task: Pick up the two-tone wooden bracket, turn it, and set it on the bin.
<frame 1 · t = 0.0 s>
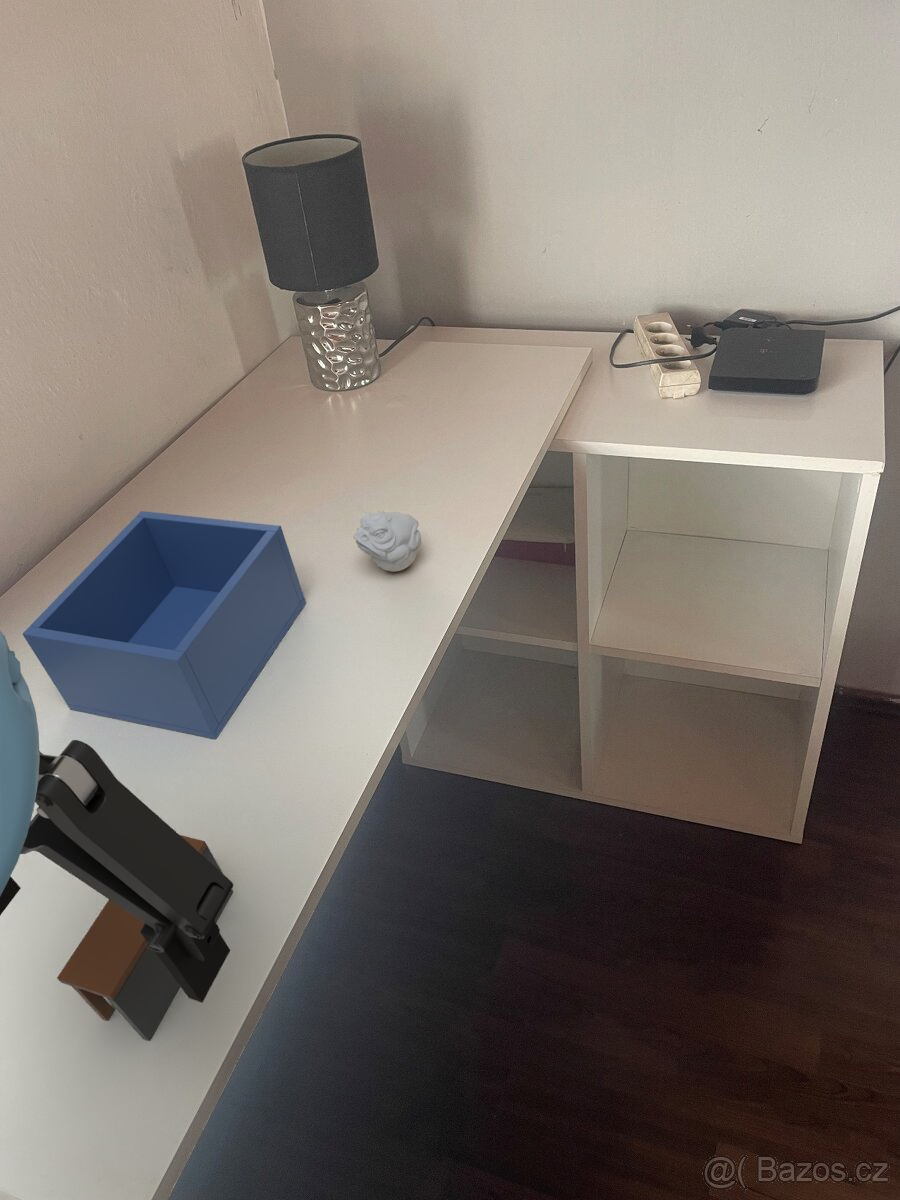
hand: (99, 940, 45), 15 cm above the table, tool pointing down, fingers open, 13 cm apart
bin: (193, 654, 84), on the table
two-tone wooden bracket: (169, 954, 60), on the table
frog figurine: (395, 568, 90), on the table
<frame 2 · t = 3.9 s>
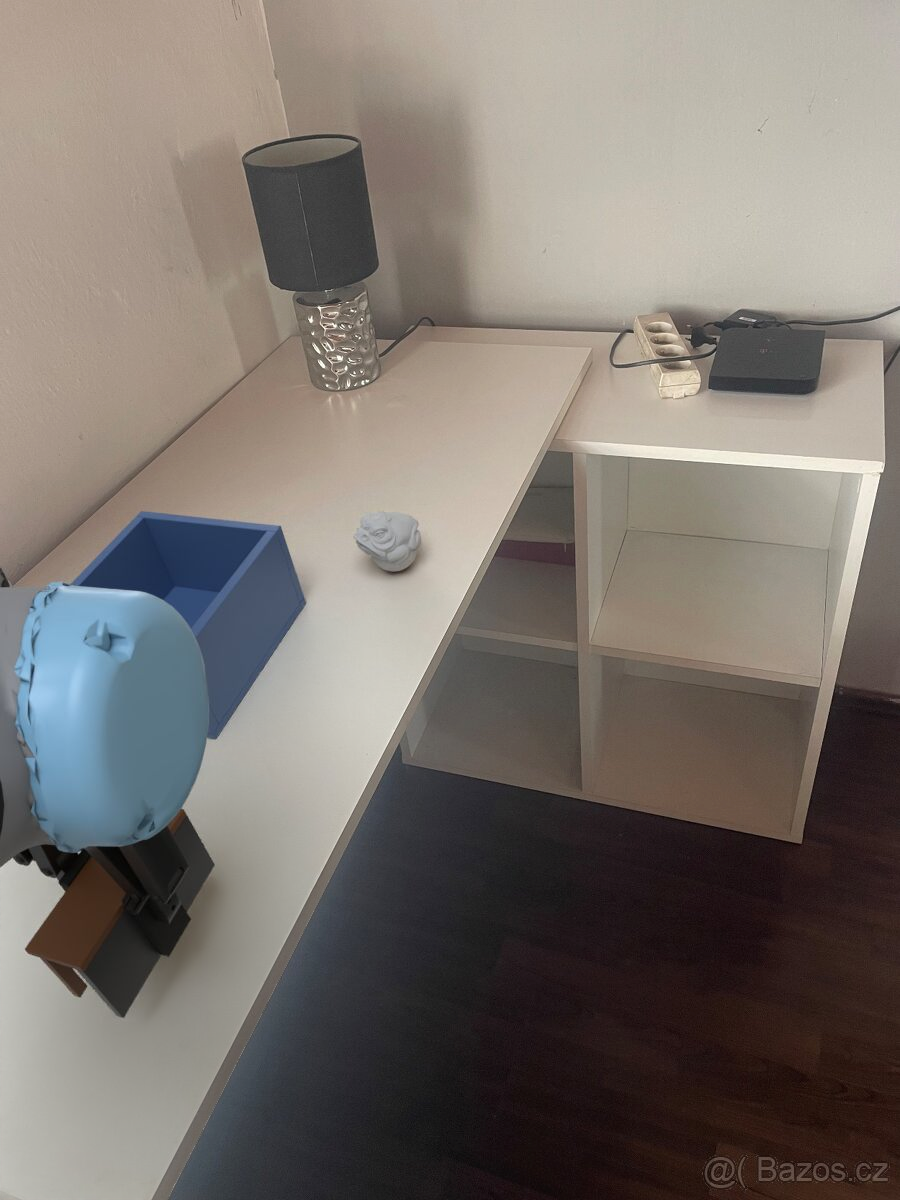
hand: (145, 927, 57), 4 cm above the table, tool pointing down, fingers closed on two-tone wooden bracket, 4 cm apart
two-tone wooden bracket: (147, 929, 58), point 4 cm above the table, touching gripper
everything else where it was.
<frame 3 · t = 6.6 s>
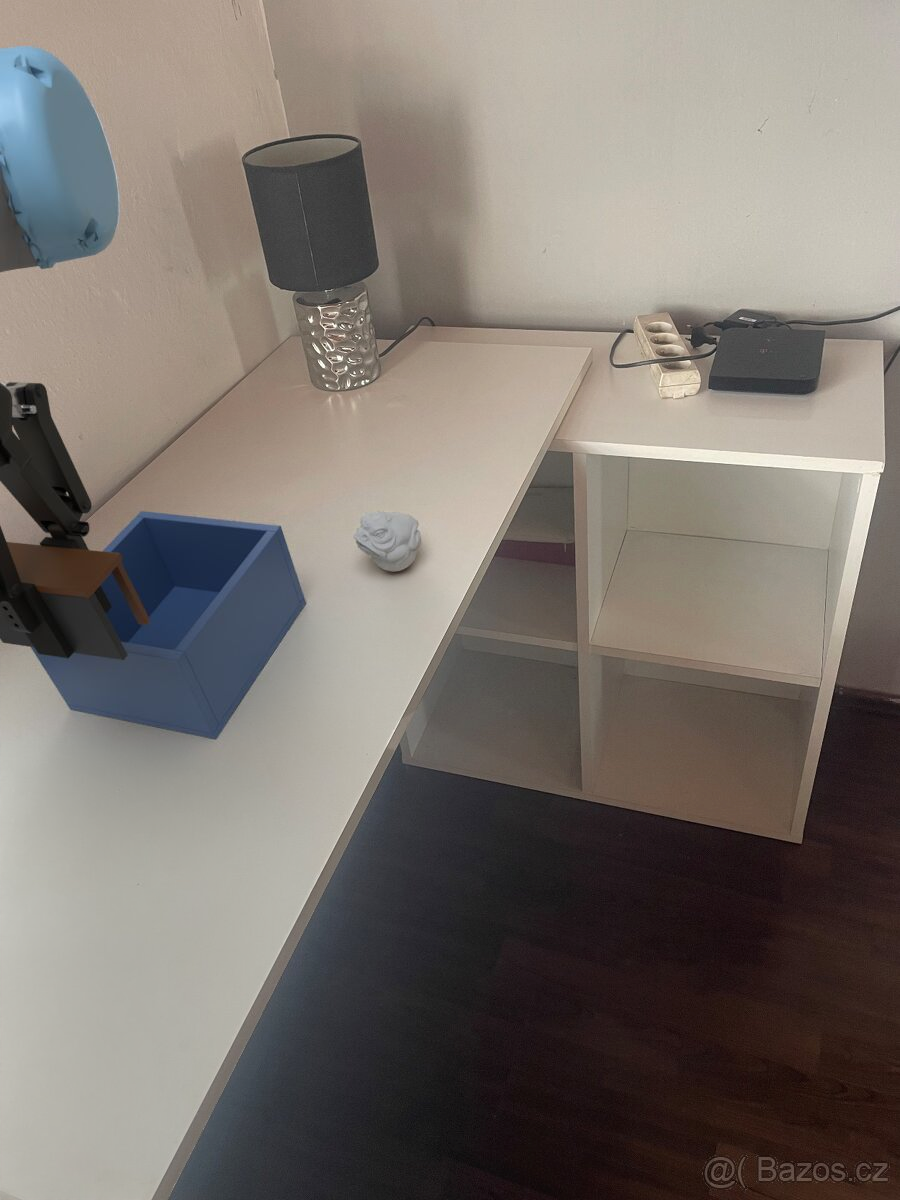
hand: (75, 629, 65), 15 cm above the table, tool pointing down, fingers closed on two-tone wooden bracket, 4 cm apart
two-tone wooden bracket: (78, 632, 65), point 15 cm above the table, touching gripper
everything else where it was.
when the fingers open (4 cm above the table, at t = 9.7 s): two-tone wooden bracket stays where it is, resting on bin.
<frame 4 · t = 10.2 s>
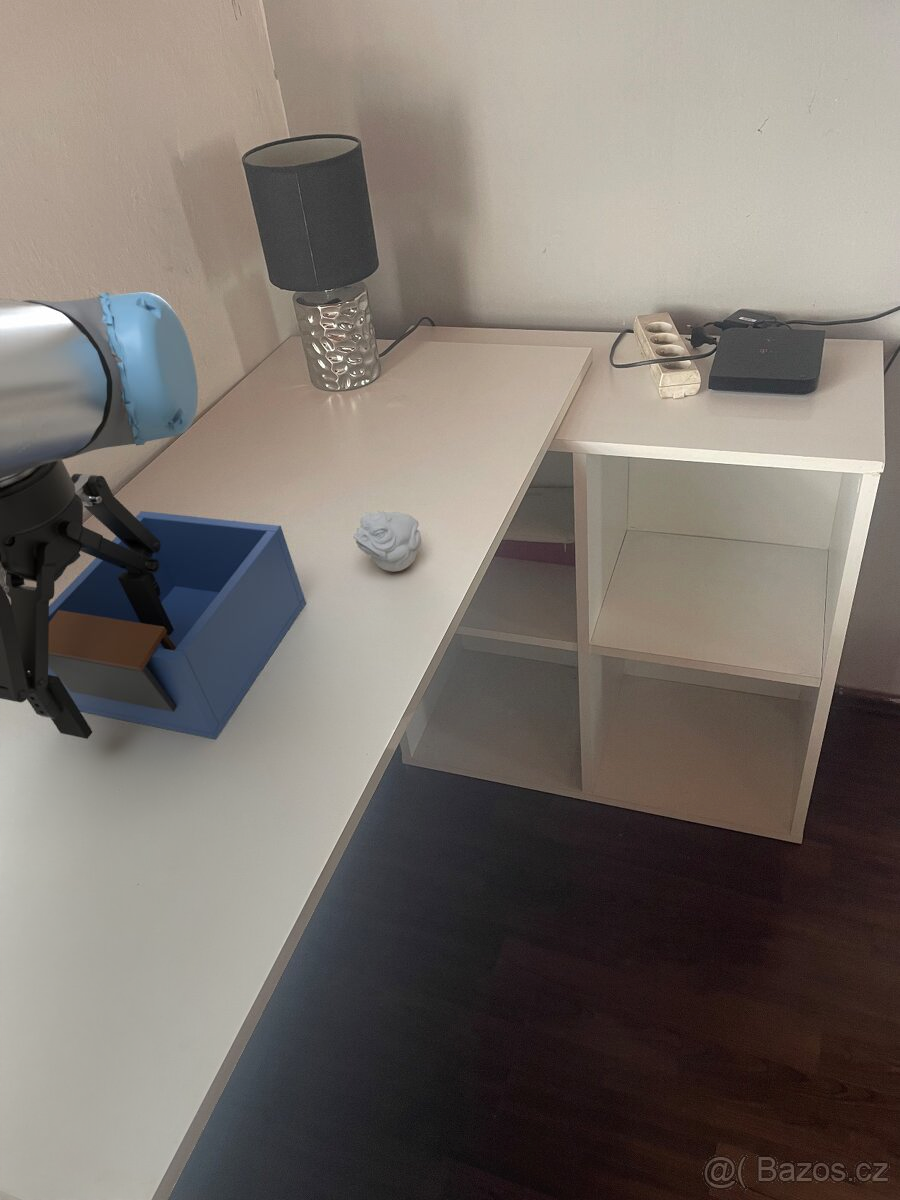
hand: (120, 679, 74), 5 cm above the table, tool pointing down, fingers open, 11 cm apart
two-tone wooden bracket: (133, 682, 76), point 4 cm above the table, tilted 9°, touching bin
everything else where it was.
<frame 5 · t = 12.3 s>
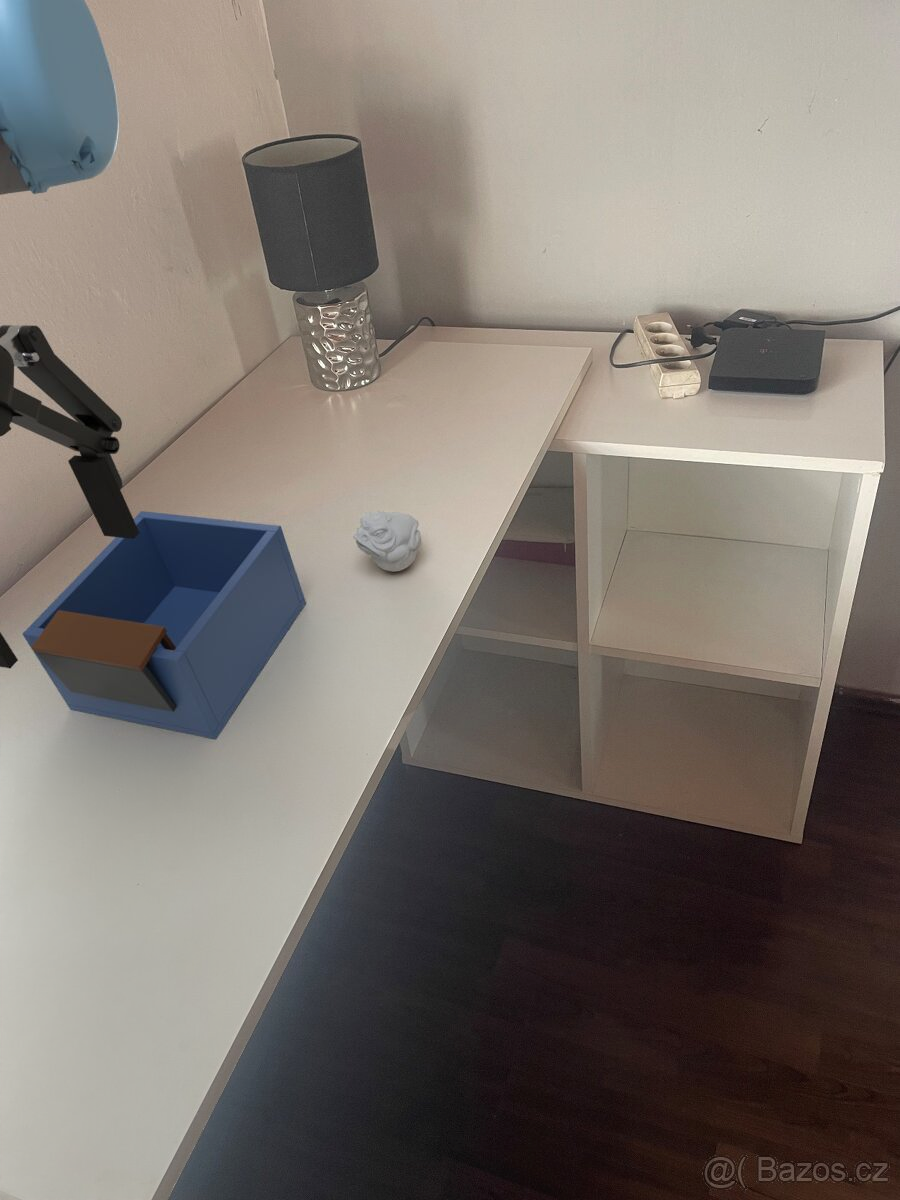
hand: (65, 593, 60), 20 cm above the table, tool pointing down, fingers open, 13 cm apart
nothing on the table moved.
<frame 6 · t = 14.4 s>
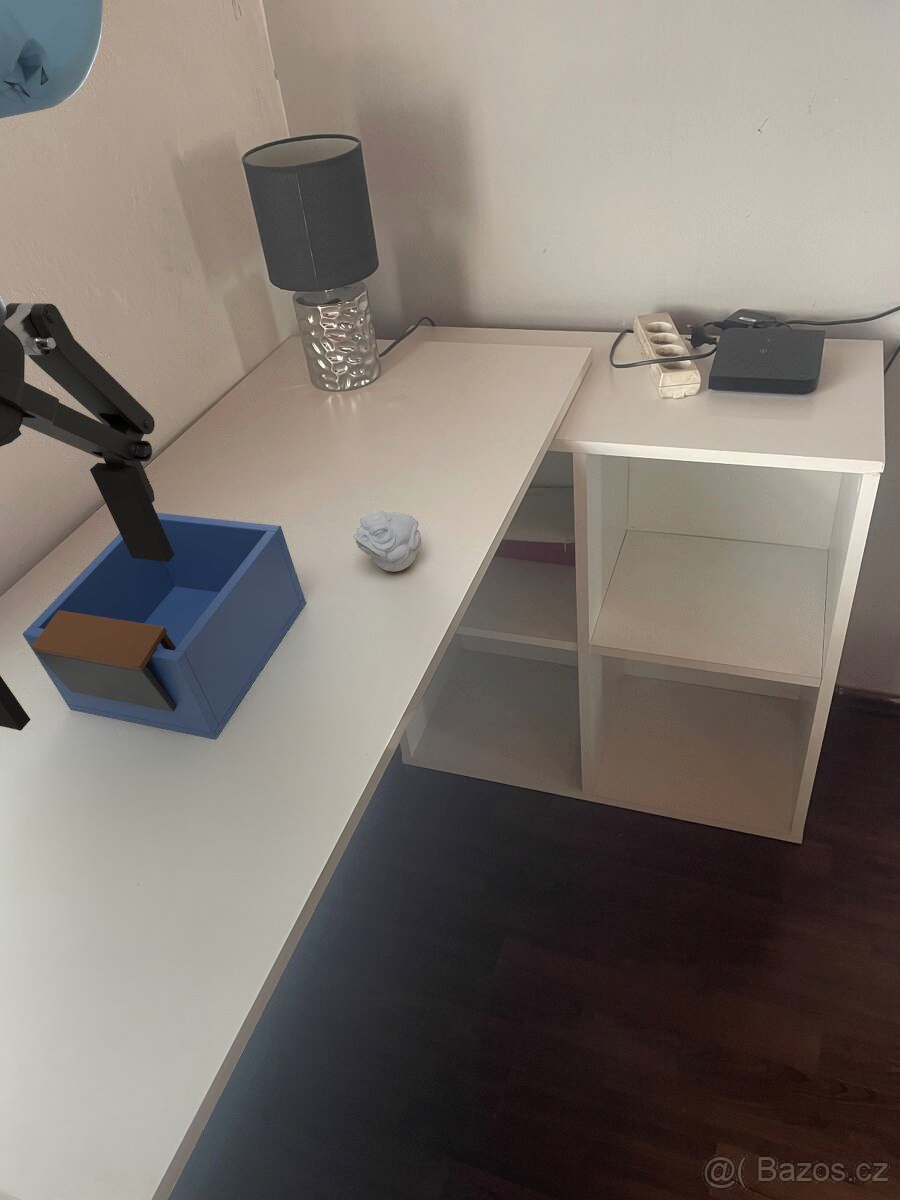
hand: (86, 631, 49), 25 cm above the table, tool pointing down, fingers open, 13 cm apart
nothing on the table moved.
at the end: two-tone wooden bracket 0.9 cm from the target spot in the bin, point 3.9 cm above the bin's base; two-tone wooden bracket touching bin; the gripper is holding nothing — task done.
